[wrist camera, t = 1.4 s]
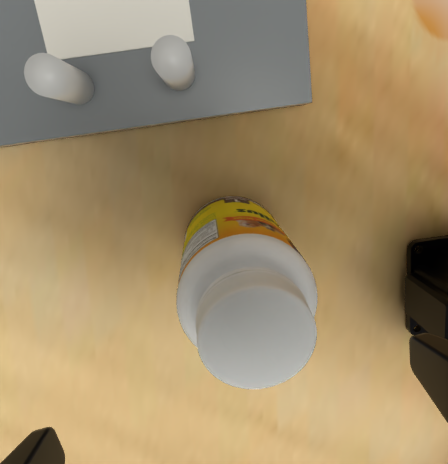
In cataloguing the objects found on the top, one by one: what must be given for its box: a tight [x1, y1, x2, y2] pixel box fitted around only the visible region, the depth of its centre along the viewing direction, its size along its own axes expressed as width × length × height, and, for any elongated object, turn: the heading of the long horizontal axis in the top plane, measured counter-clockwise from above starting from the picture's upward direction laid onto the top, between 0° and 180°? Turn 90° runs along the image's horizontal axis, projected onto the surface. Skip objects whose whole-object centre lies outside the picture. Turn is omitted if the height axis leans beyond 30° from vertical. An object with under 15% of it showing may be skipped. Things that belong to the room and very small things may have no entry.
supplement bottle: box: [177, 196, 317, 389], centre depth 16 cm, size 6×6×10 cm
